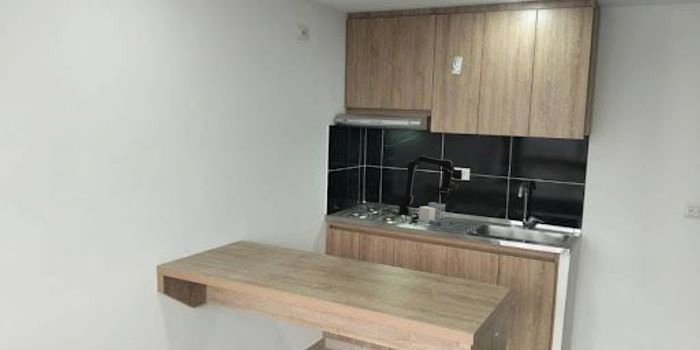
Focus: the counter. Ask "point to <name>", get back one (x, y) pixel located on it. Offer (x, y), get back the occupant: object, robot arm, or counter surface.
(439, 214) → the light bulb box
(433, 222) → the socket board
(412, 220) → the counter surface
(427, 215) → the white rectangular block
